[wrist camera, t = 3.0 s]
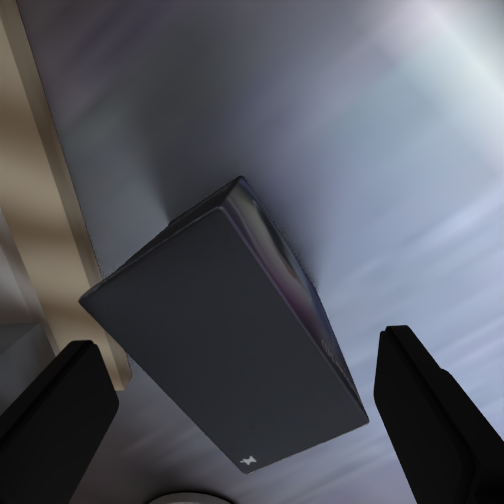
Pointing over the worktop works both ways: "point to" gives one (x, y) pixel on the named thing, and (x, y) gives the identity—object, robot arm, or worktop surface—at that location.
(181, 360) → the small box
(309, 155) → the worktop surface
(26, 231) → the rail board
